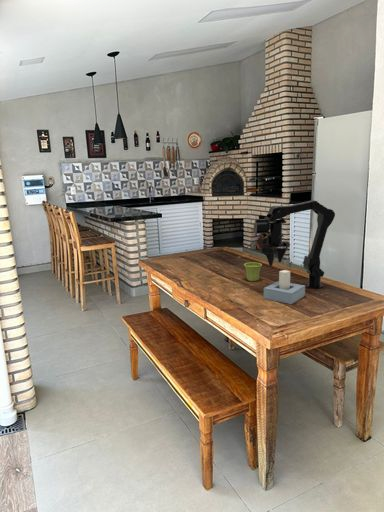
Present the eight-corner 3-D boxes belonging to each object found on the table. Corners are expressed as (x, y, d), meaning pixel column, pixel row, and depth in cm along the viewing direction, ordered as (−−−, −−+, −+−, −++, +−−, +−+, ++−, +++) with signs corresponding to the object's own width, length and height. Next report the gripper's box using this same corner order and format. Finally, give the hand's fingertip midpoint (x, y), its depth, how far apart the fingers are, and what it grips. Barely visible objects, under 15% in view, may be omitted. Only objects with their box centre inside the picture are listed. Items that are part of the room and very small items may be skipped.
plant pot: (262, 277, 214) (262, 262, 212) (260, 282, 206) (260, 266, 204) (245, 277, 217) (245, 261, 215) (243, 281, 208) (243, 266, 206)
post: (283, 295, 184) (284, 269, 181) (289, 297, 181) (290, 271, 178) (278, 297, 182) (279, 271, 179) (285, 299, 179) (285, 272, 176)
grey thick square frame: (277, 290, 191) (277, 280, 190) (304, 295, 182) (305, 285, 181) (263, 298, 181) (263, 288, 180) (291, 304, 172) (291, 293, 171)
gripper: (270, 228, 199) (269, 258, 202) (251, 234, 185) (251, 265, 188) (290, 230, 192) (289, 261, 195) (272, 235, 178) (271, 269, 181)
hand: (275, 264), depth 190 cm, fingers open, 9 cm apart
